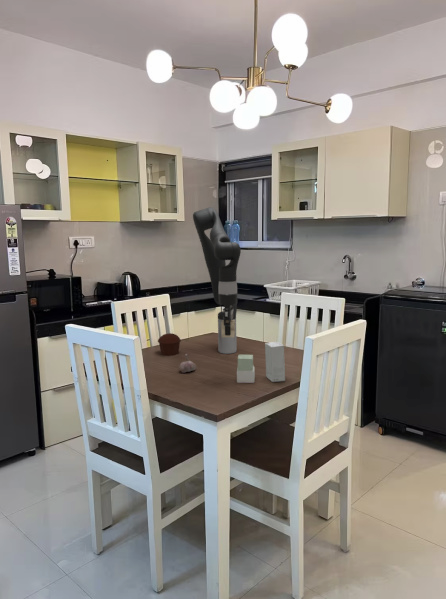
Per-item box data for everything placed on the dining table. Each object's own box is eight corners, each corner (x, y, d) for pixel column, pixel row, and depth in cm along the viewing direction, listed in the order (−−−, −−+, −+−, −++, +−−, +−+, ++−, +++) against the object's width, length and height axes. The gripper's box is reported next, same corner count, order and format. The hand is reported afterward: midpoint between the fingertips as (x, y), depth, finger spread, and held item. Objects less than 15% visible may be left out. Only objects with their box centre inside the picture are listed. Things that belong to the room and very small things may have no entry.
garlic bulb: (180, 374, 195) (179, 356, 194) (178, 369, 202) (177, 352, 201) (197, 373, 197) (196, 355, 196) (195, 368, 204) (194, 351, 203)
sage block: (238, 366, 189) (238, 354, 188) (253, 366, 188) (253, 354, 188) (237, 370, 183) (237, 358, 182) (252, 370, 182) (252, 358, 182)
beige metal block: (223, 334, 187) (222, 320, 186) (235, 334, 187) (234, 320, 186) (221, 337, 182) (221, 322, 181) (233, 337, 182) (233, 322, 181)
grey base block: (237, 377, 190) (237, 365, 190) (254, 377, 190) (254, 366, 189) (236, 382, 183) (236, 371, 183) (254, 383, 183) (254, 371, 182)
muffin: (182, 350, 235) (181, 331, 234) (180, 356, 224) (180, 336, 223) (159, 350, 235) (158, 332, 233) (156, 356, 224) (156, 336, 222)
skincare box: (285, 381, 184) (285, 345, 182) (271, 382, 183) (271, 346, 180) (278, 375, 192) (278, 340, 190) (264, 376, 191) (264, 341, 188)
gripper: (220, 290, 189) (221, 329, 192) (216, 294, 175) (217, 337, 178) (238, 290, 188) (239, 330, 191) (235, 294, 174) (236, 337, 177)
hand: (228, 333), depth 184 cm, fingers closed on beige metal block, 5 cm apart
